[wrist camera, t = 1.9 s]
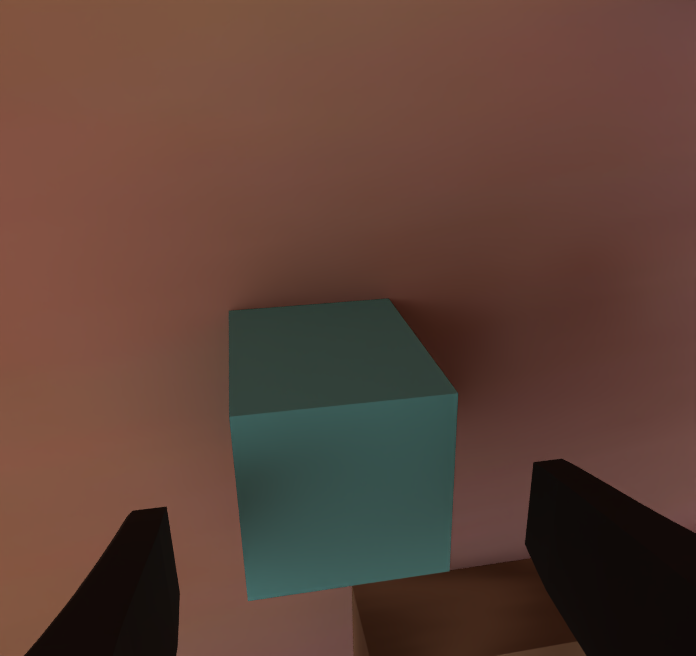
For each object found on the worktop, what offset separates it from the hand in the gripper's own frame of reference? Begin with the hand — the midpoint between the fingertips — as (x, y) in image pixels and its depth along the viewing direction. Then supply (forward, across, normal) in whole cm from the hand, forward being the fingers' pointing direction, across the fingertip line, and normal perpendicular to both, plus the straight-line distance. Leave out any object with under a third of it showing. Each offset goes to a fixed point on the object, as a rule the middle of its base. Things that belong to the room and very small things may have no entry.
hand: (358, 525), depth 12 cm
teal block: (+7, 0, 0) cm, 7 cm away
